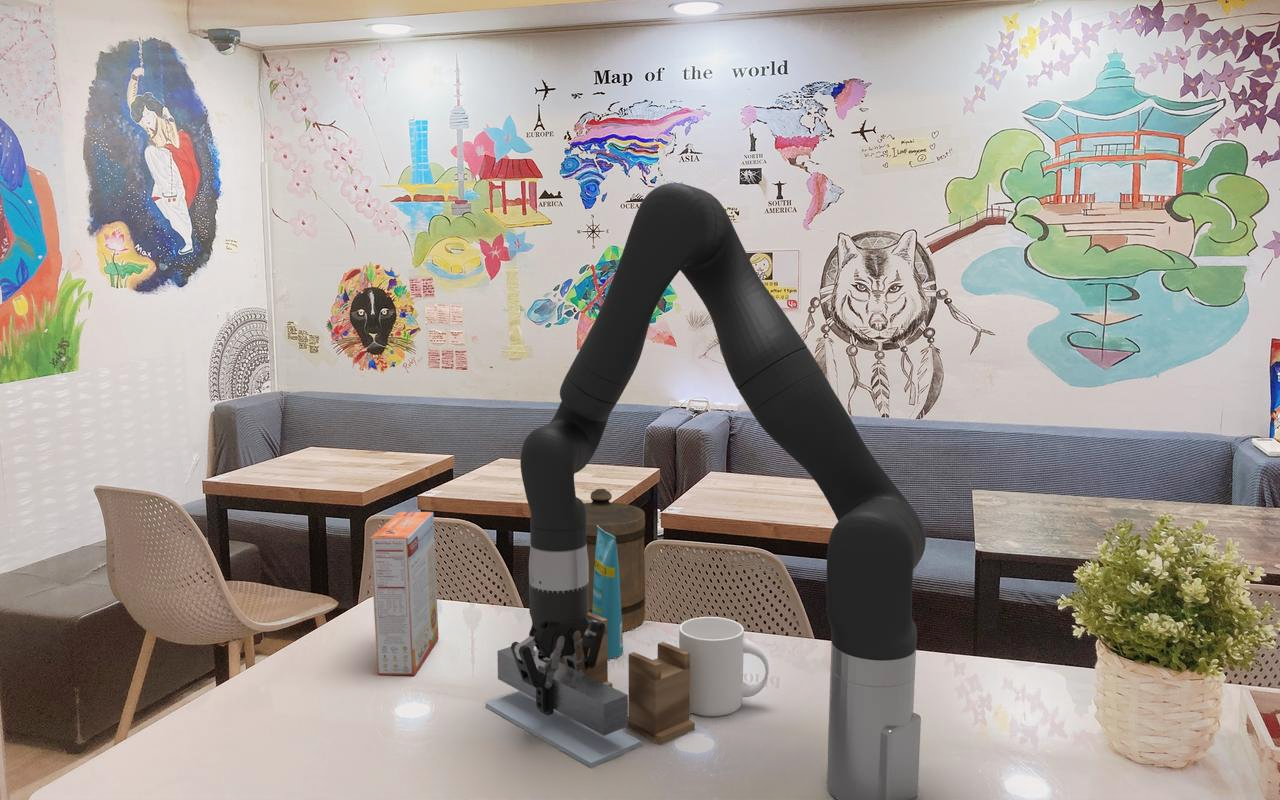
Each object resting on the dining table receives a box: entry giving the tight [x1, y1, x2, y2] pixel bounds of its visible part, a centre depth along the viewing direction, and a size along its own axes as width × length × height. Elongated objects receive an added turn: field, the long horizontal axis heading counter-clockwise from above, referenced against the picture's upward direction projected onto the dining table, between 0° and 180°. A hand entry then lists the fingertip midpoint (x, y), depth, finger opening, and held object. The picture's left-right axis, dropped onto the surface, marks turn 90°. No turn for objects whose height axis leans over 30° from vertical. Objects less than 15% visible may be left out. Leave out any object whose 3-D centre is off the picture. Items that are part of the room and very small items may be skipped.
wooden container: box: [583, 488, 646, 633], centre depth 167 cm, size 15×15×22 cm
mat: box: [485, 690, 642, 768], centre depth 131 cm, size 22×8×1 cm, turn 43°
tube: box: [592, 525, 624, 660], centre depth 153 cm, size 7×5×19 cm, turn 28°
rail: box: [496, 646, 629, 736], centre depth 130 cm, size 22×4×4 cm, turn 43°
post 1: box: [559, 612, 613, 688], centre depth 141 cm, size 7×6×10 cm
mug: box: [678, 616, 770, 717], centre depth 136 cm, size 9×12×11 cm
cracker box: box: [369, 511, 439, 676], centre depth 151 cm, size 14×6×21 cm, turn 176°
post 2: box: [626, 641, 696, 746], centre depth 129 cm, size 7×6×10 cm
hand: (560, 707), depth 130 cm, fingers closed on rail, 3 cm apart
